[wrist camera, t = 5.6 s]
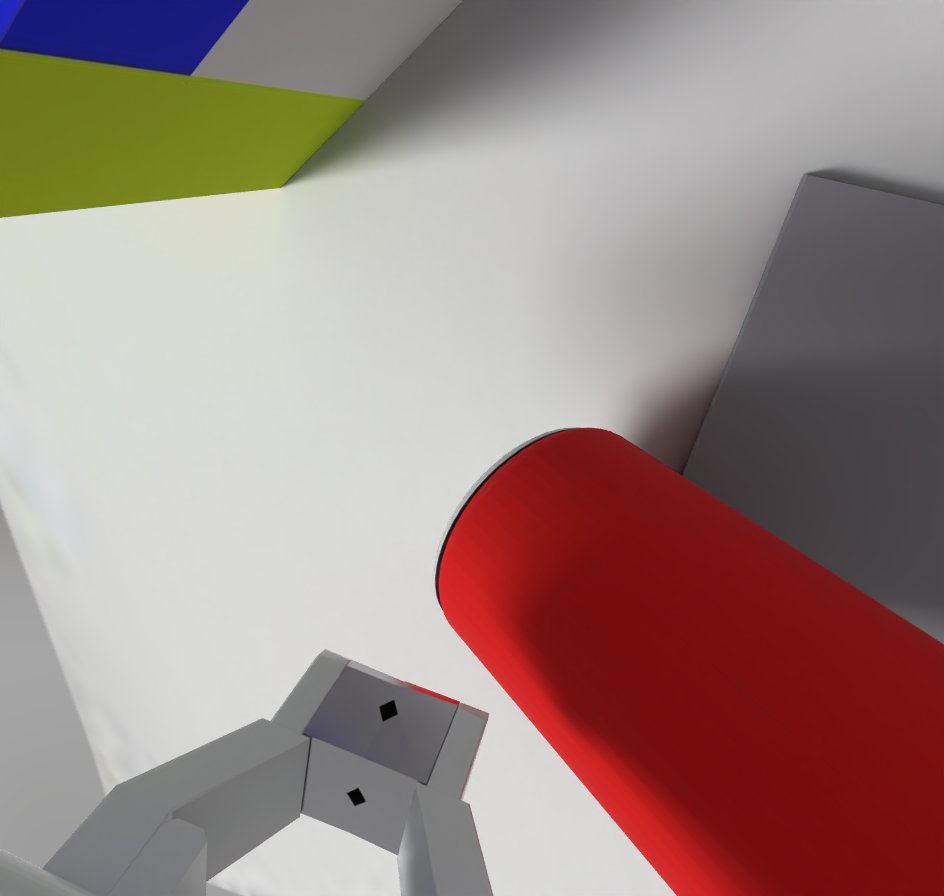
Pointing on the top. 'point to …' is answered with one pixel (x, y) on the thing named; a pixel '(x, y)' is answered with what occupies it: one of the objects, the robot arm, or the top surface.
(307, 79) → the puzzle toy
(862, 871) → the beverage can
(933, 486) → the mat
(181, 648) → the top surface
